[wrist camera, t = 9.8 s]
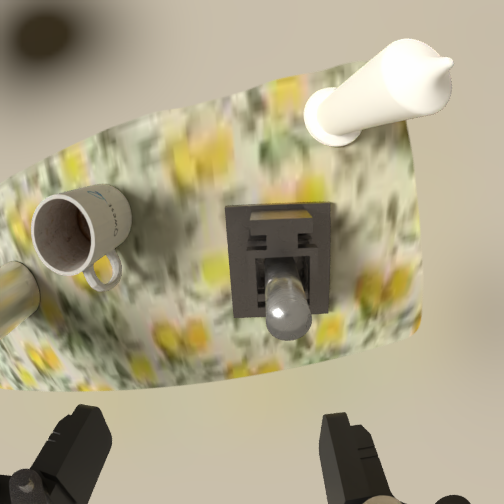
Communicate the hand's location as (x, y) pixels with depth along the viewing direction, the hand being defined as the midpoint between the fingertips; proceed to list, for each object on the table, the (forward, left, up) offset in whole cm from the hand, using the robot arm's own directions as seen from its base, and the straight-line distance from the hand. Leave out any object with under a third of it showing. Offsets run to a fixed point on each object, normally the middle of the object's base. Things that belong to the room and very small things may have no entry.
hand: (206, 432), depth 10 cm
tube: (+4, -4, -29) cm, 29 cm away
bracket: (+4, -4, -30) cm, 30 cm away
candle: (+11, +13, -30) cm, 35 cm away
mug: (-18, +1, -30) cm, 35 cm away
